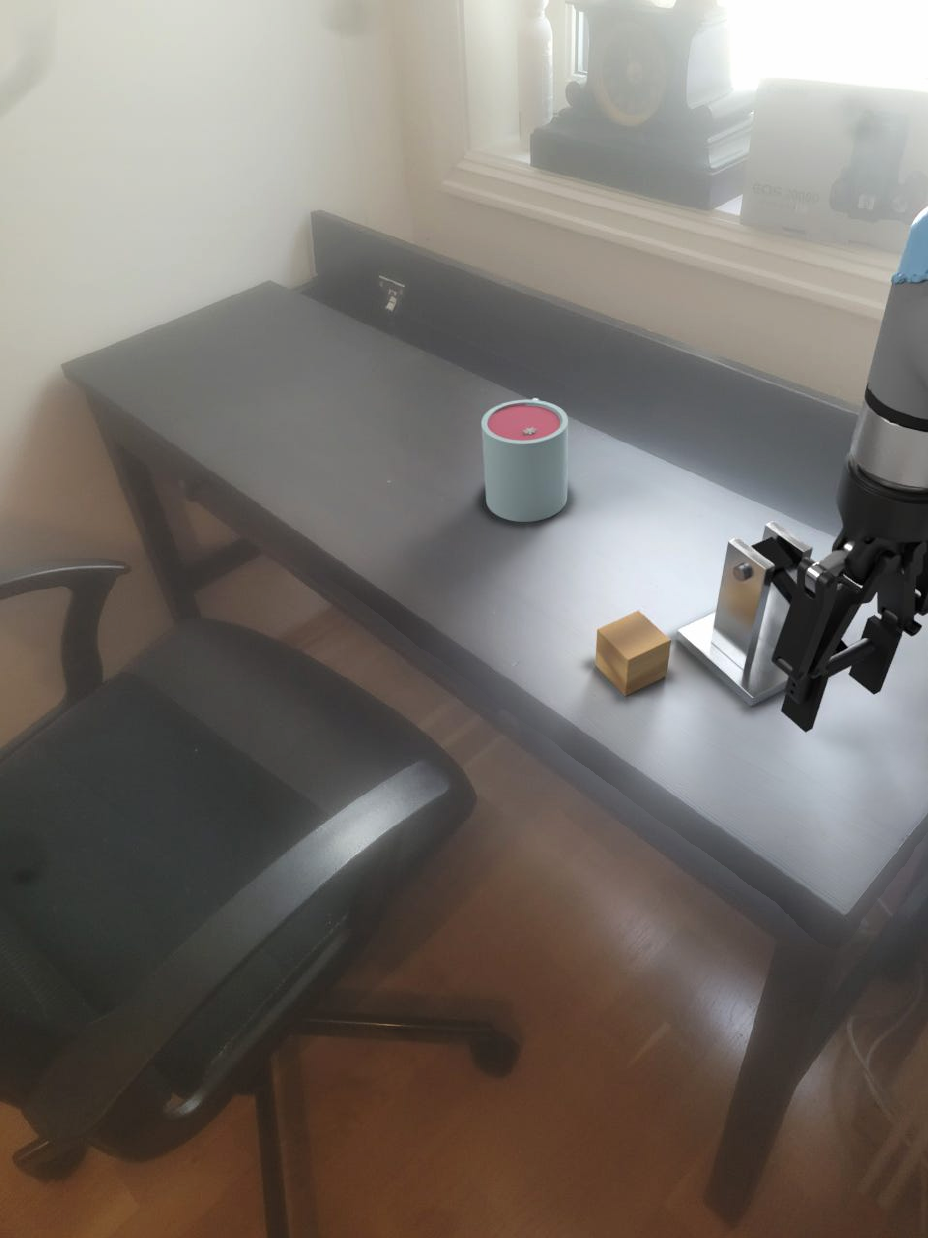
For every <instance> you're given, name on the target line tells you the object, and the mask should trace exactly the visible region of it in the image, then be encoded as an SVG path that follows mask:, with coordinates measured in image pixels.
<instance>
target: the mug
mask: <svg viewBox="0 0 928 1238" xmlns="http://www.w3.org/2000/svg"><path fill="white" fill-rule="evenodd" d="M480 424H481V438H482V439H481V440H482V453H483V454H482V455H483V470H484V487H485V488H484V489H485V502H486V505H487V507H488V509H489V510H490V512H492V513H493V514H495V516H498V517H499V518H502V519H503V520H504V519H505V520H508V521H512V522H518V523H519V522H520V523H531V522H537V521H543V520H547V519H549V518H551V517H553V516H555V515H557V514H558V513H560V512H561V511H562V510H563V509H564V507H565V506H566V504H567V502H568V458H569V457H568V456H569V455H568V454H569V452H568V450H569V417H568V414H567V413H566V411H565V410H564V409H562V408H561V407H560V406H558V405H556V404H554V403H551V402H548V401H544V400H540V399H539V398H538V397H533V398H532V399H517V400H511V401H506V402H503V403H500V404H498V405H495V406H493V407H491V408H490V409H489V410H487V411H486V413H484V415H483V417H482V418H481V423H480Z"/></svg>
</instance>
